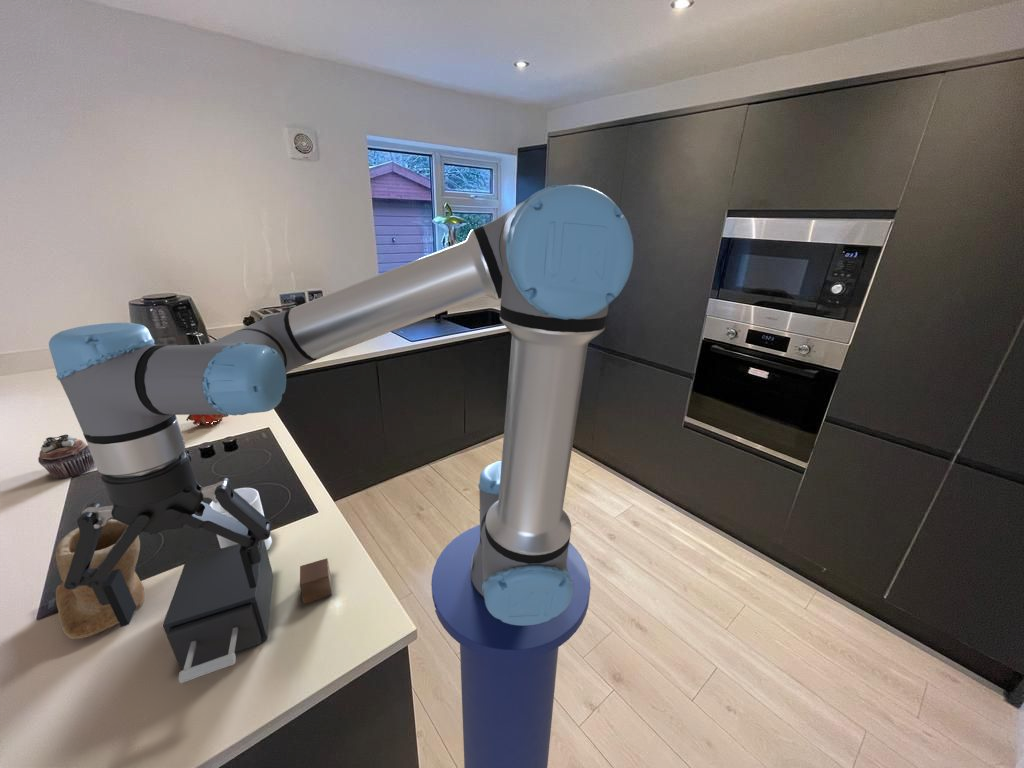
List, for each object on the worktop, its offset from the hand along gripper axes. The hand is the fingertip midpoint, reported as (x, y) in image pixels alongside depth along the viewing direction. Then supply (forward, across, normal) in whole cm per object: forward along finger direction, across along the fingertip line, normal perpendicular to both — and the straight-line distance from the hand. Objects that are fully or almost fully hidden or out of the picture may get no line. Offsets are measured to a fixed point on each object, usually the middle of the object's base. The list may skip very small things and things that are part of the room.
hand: (195, 597), depth 53 cm
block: (+15, -13, -10) cm, 22 cm away
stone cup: (+15, +19, -22) cm, 32 cm away
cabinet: (+15, 0, -10) cm, 18 cm away
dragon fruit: (+15, +17, -95) cm, 97 cm away
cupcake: (+15, +44, -76) cm, 90 cm away
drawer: (+14, 0, -5) cm, 15 cm away
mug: (+15, -1, -28) cm, 31 cm away
